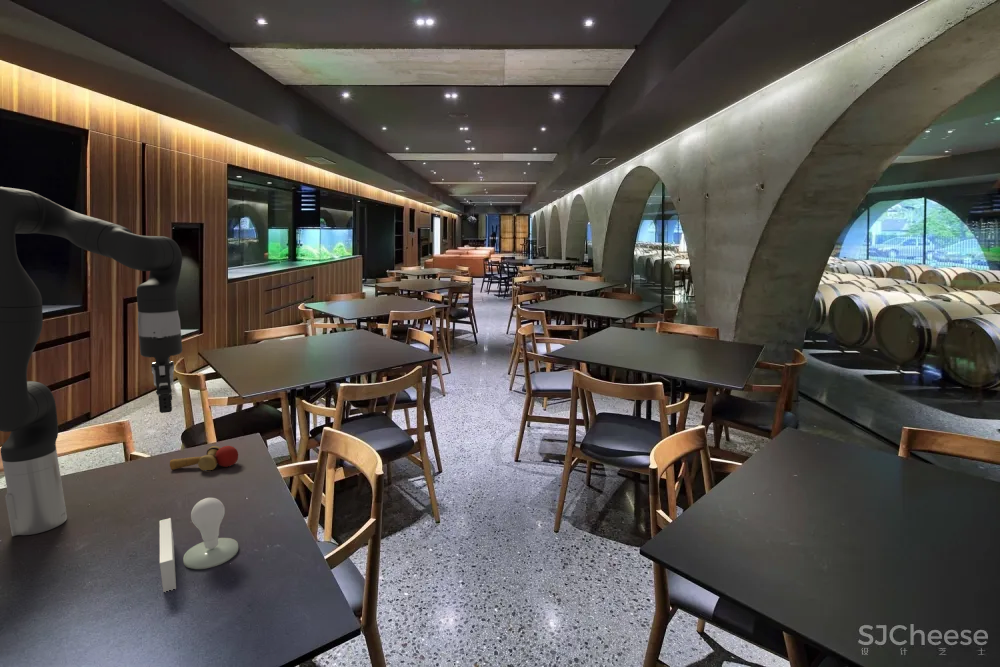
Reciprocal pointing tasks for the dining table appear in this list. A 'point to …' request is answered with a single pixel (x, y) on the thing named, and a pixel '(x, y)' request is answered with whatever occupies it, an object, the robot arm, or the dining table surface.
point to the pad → (210, 554)
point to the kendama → (209, 459)
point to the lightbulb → (208, 520)
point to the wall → (167, 555)
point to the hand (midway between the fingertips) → (166, 406)
